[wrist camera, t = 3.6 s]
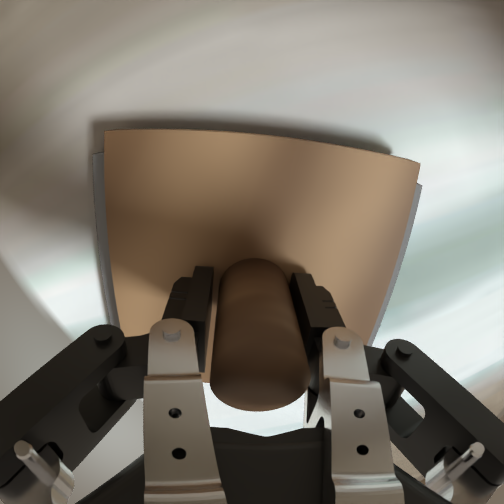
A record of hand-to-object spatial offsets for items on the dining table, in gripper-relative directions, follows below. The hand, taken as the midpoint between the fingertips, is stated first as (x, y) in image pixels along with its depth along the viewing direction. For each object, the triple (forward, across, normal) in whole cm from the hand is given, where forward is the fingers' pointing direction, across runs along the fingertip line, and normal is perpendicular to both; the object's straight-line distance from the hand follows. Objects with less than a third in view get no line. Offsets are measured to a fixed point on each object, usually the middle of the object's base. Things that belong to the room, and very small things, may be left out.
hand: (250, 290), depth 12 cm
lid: (+1, 0, 0) cm, 1 cm away
